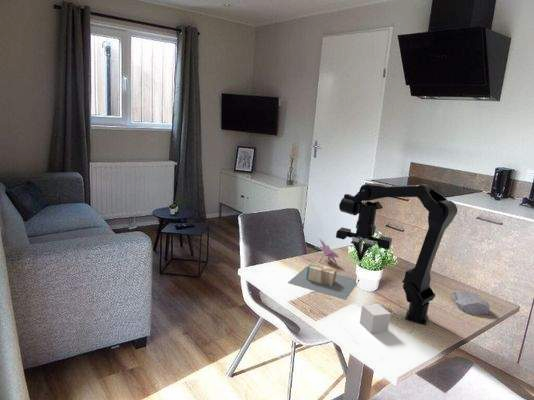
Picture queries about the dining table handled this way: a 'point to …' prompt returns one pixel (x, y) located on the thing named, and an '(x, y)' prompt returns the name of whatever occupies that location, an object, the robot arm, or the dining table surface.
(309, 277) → the maple block
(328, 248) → the lily
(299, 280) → the rubber mat
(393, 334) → the dining table surface
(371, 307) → the light grey cube
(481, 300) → the stone block
